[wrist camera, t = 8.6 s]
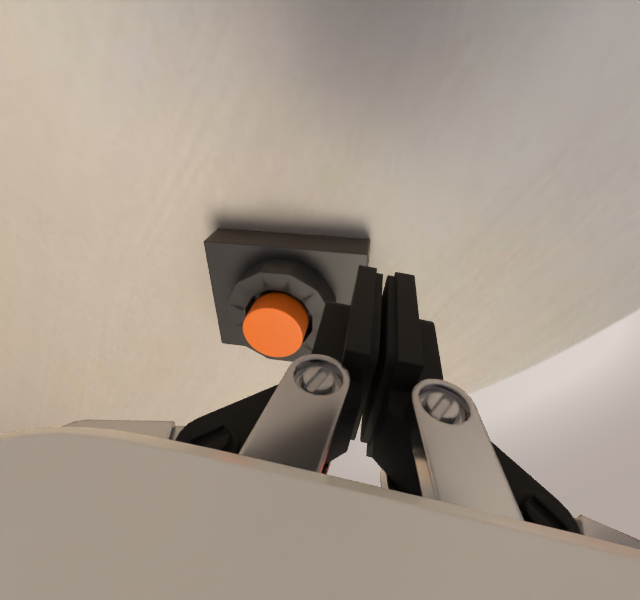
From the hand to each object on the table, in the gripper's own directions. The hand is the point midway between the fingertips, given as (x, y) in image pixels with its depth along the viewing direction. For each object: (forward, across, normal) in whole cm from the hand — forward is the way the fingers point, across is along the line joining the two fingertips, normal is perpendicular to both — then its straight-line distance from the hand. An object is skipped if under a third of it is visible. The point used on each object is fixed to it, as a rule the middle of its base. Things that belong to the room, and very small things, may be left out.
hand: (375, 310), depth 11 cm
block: (+12, +5, +7) cm, 14 cm away
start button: (+8, +5, +7) cm, 12 cm away
